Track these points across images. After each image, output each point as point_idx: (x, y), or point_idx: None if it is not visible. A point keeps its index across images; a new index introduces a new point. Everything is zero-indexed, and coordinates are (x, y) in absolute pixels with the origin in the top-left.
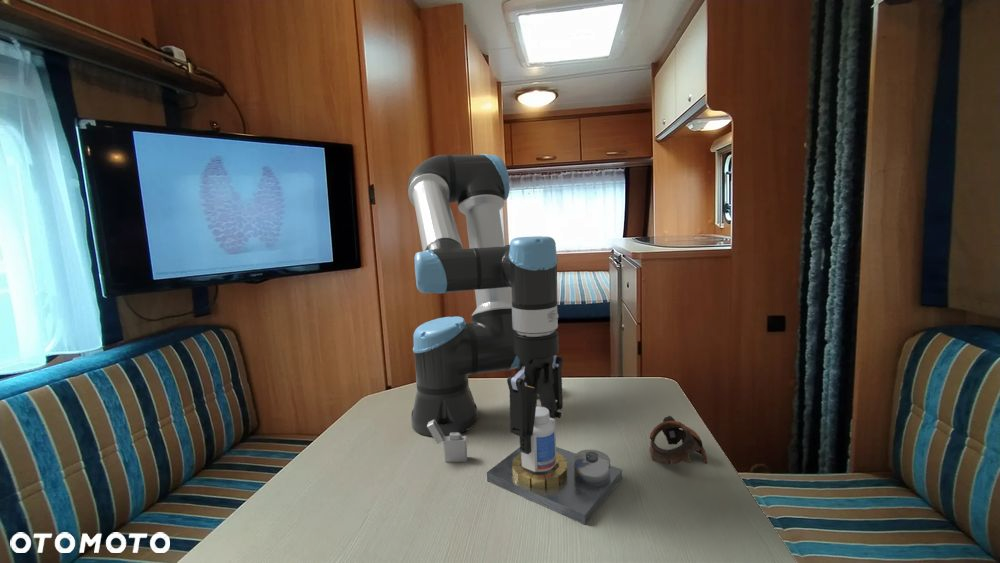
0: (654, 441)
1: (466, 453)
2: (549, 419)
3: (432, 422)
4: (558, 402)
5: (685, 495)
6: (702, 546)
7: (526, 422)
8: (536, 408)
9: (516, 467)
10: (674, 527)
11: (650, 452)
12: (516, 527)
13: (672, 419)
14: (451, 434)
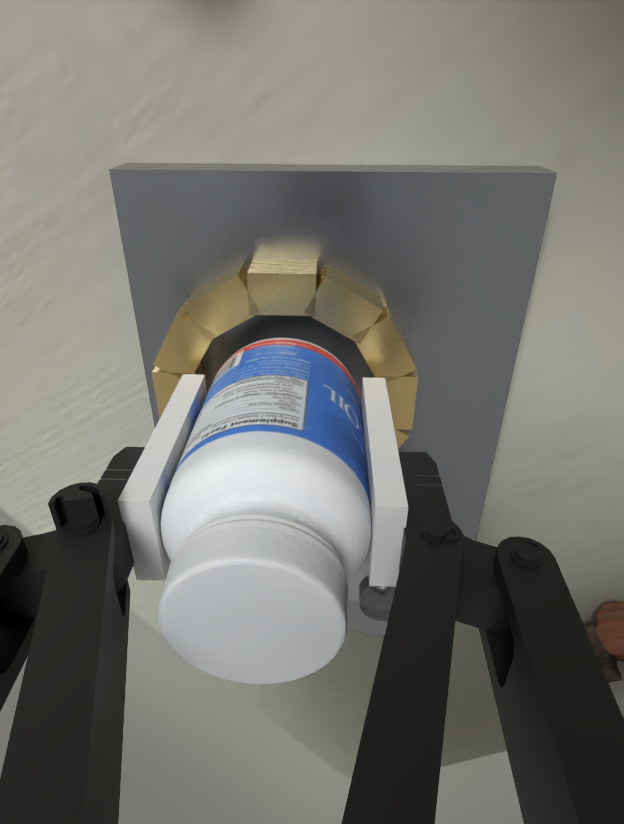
0: None
1: None
2: (370, 566)
3: None
4: (489, 663)
5: (454, 681)
6: (296, 720)
7: (11, 681)
8: (291, 604)
9: (185, 334)
10: (319, 684)
11: (614, 623)
12: (31, 426)
13: None
14: None
